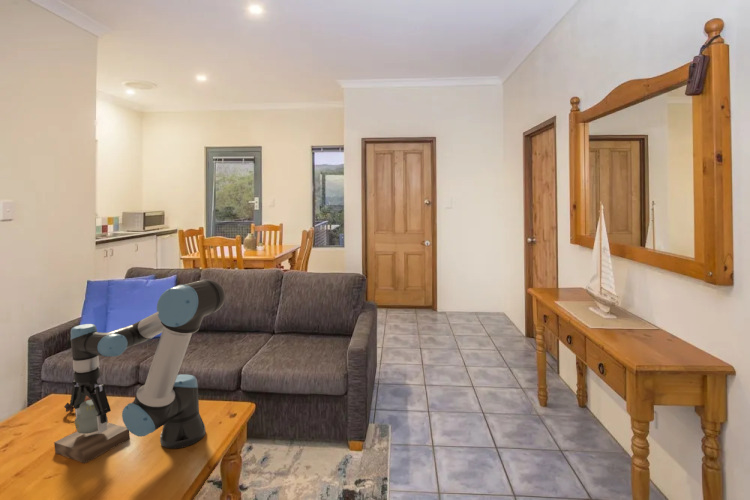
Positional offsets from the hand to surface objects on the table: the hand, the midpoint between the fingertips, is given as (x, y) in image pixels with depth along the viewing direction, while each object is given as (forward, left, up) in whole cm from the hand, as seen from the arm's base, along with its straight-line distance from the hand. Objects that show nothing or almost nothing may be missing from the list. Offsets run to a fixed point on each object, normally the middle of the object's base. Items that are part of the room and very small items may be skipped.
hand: (91, 427), depth 147 cm
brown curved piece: (+31, -16, -7) cm, 36 cm away
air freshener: (0, 0, -1) cm, 1 cm away
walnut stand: (0, 0, -7) cm, 7 cm away
